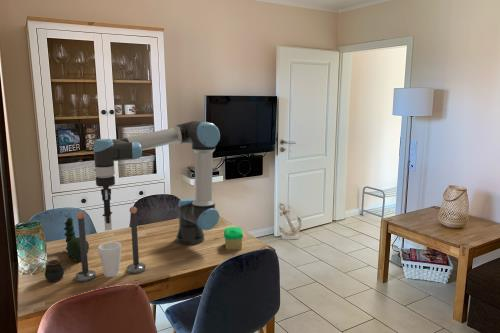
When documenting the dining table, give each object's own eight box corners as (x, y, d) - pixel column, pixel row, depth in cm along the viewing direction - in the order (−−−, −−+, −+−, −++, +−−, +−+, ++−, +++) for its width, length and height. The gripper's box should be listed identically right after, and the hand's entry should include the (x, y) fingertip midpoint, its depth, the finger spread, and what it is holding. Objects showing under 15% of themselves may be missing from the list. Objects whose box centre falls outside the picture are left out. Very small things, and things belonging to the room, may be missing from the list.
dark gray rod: (89, 271, 165) (84, 210, 160) (89, 274, 162) (84, 212, 157) (81, 272, 164) (76, 211, 159) (81, 276, 161) (76, 213, 156)
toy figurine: (61, 254, 192) (72, 267, 172) (57, 217, 190) (68, 226, 170) (81, 249, 197) (94, 262, 177) (77, 214, 195) (90, 222, 175)
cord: (139, 264, 173) (136, 205, 168) (140, 267, 170) (137, 207, 165) (132, 265, 172) (128, 206, 167) (132, 268, 169) (129, 208, 164)
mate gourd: (66, 274, 166) (64, 253, 164) (61, 283, 159) (59, 261, 157) (49, 276, 165) (46, 254, 163) (42, 284, 157) (40, 262, 155)
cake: (224, 250, 192) (224, 232, 191) (223, 242, 203) (223, 225, 201) (243, 250, 193) (243, 231, 192) (242, 242, 204) (242, 224, 202)
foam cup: (100, 280, 161) (98, 251, 159) (99, 271, 170) (97, 243, 167) (124, 276, 165) (122, 247, 163) (121, 267, 173) (120, 240, 171)
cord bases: (144, 264, 176) (144, 261, 176) (146, 272, 169) (146, 268, 168) (76, 275, 166) (75, 271, 165) (75, 283, 158) (74, 279, 158)
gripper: (95, 173, 164) (99, 225, 168) (95, 179, 152) (99, 235, 156) (114, 172, 167) (116, 224, 171) (115, 178, 155) (118, 233, 159)
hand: (108, 229), depth 163 cm, fingers closed
